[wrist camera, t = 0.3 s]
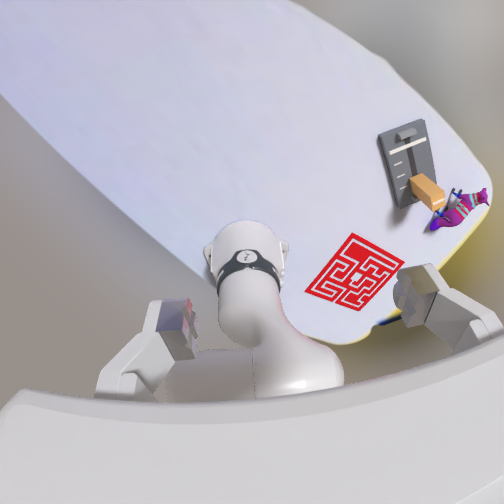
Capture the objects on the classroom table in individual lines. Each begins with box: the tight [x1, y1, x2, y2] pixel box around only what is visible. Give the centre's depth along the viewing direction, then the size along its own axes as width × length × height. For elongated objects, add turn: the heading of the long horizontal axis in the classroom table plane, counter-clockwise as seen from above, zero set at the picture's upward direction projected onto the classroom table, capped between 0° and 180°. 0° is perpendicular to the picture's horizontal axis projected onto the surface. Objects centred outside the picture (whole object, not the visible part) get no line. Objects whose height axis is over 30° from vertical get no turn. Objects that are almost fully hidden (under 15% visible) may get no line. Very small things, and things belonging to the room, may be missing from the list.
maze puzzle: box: [305, 233, 405, 311], centre depth 74 cm, size 20×20×1 cm
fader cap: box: [409, 173, 446, 212], centre depth 52 cm, size 4×4×9 cm
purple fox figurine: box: [430, 188, 490, 231], centre depth 57 cm, size 4×18×10 cm, turn 147°
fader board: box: [379, 119, 437, 209], centre depth 54 cm, size 18×11×3 cm, turn 27°
